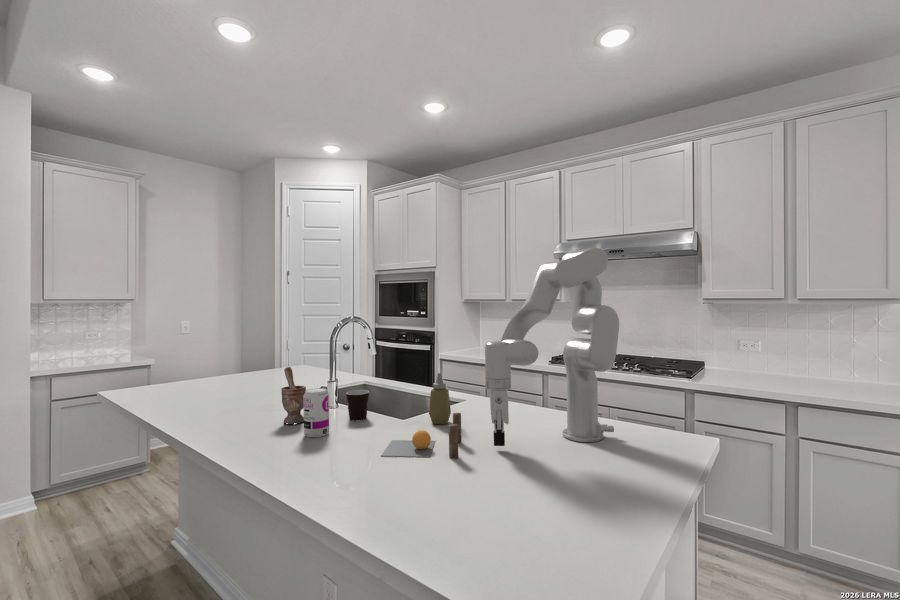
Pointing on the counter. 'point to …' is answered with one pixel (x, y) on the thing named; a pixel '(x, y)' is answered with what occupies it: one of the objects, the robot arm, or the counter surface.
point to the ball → (421, 439)
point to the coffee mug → (357, 404)
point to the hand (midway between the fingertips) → (499, 444)
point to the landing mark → (406, 449)
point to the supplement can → (316, 412)
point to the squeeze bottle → (439, 402)
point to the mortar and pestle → (292, 399)
